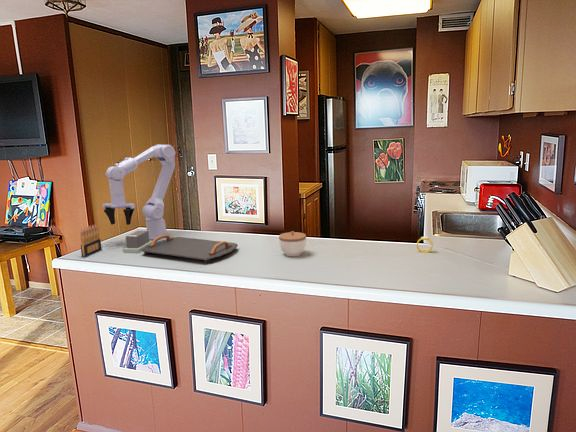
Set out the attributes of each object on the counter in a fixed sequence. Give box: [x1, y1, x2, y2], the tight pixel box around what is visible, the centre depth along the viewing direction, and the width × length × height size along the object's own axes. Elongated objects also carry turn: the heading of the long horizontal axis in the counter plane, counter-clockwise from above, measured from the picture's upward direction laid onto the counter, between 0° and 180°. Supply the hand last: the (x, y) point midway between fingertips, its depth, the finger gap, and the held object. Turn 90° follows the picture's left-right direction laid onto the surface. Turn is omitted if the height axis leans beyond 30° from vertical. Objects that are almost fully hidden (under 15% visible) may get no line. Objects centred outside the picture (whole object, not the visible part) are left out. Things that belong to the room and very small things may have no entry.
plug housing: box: [125, 230, 150, 248], centre depth 196 cm, size 10×5×5 cm, turn 168°
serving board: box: [141, 234, 238, 264], centre depth 188 cm, size 39×23×6 cm, turn 63°
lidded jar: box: [278, 230, 307, 257], centre depth 180 cm, size 11×11×9 cm
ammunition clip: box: [80, 223, 103, 258], centre depth 190 cm, size 11×2×12 cm, turn 166°
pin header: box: [122, 240, 153, 254], centre depth 196 cm, size 13×7×4 cm, turn 168°
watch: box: [416, 236, 434, 253], centre depth 178 cm, size 6×3×6 cm, turn 71°
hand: (120, 224), depth 202 cm, fingers open, 7 cm apart
